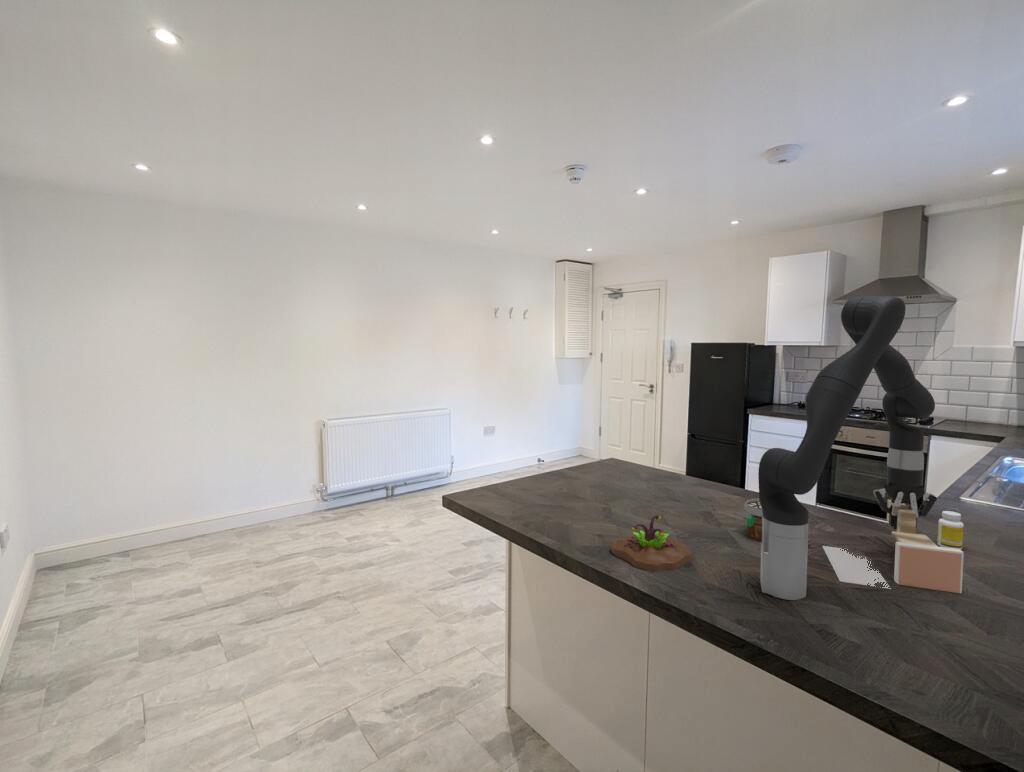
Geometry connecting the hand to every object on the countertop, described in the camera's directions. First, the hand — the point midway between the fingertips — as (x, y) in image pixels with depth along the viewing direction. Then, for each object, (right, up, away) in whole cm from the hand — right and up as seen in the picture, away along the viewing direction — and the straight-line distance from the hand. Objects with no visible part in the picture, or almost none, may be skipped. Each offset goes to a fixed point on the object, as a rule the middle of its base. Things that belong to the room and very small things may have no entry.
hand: (902, 528), depth 129 cm
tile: (-7, -9, -16) cm, 20 cm away
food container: (-30, -7, +18) cm, 36 cm away
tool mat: (-16, -9, -4) cm, 19 cm away
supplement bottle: (+19, -7, +7) cm, 22 cm away
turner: (-1, -1, -2) cm, 3 cm away
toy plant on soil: (-65, -9, +5) cm, 66 cm away
